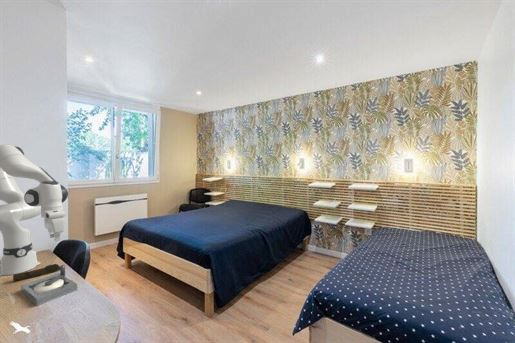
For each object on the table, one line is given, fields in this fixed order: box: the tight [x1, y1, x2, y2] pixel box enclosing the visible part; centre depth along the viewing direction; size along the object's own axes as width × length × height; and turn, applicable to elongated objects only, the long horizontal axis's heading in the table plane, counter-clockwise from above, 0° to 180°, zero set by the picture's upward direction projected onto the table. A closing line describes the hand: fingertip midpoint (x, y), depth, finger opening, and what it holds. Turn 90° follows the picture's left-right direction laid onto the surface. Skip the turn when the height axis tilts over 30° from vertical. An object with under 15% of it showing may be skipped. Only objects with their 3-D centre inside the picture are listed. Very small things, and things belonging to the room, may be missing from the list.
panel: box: [20, 272, 78, 307], centre depth 119 cm, size 22×16×3 cm
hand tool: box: [12, 263, 61, 283], centre depth 134 cm, size 19×4×5 cm, turn 128°
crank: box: [34, 264, 66, 295], centre depth 120 cm, size 11×14×8 cm
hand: (54, 238), depth 127 cm, fingers open, 8 cm apart
